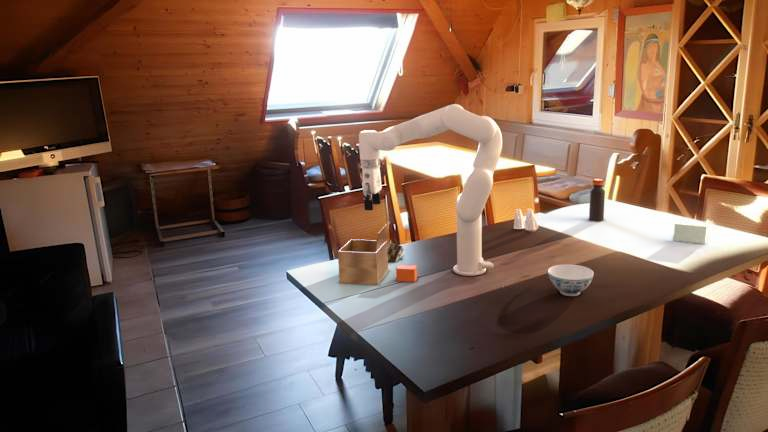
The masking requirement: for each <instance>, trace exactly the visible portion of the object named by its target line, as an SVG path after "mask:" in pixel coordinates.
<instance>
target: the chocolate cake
mask: <svg viewBox="0 0 768 432" xmlns="http://www.w3.org/2000/svg"><path fill="white" fill-rule="evenodd" d="M387 251H388V262H393V263H397V262H398V260H402V257H403V256H404V252H405V251H404V246H403V245H400V244H397V243H393V242H392V239H390V241H389V243H388V244H387Z"/></svg>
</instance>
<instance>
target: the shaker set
mask: <svg viewBox="0 0 768 432" xmlns="http://www.w3.org/2000/svg"><path fill="white" fill-rule="evenodd" d="M513 229H514V230H523V229H524V230H526V231H527V232H529V233H534V232H536V231H537V230H538V229H539V225H538V222H537V219H536V216H535V214H534V211H533V209H532V208H527V210H526V215H525V218H524V216H523V213H522V210H521V209H520V208H515V214H514V221H513Z"/></svg>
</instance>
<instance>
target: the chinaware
mask: <svg viewBox="0 0 768 432" xmlns="http://www.w3.org/2000/svg"><path fill="white" fill-rule="evenodd" d="M594 274H595V273H594V271H593V270H592V269H591V268H589V267H587V266H583V265H579V264H568V263H567V264H566V263H565V264H556V265H553V266H551V267H548V268H547V275H548V278H549V280H550V283H551V284H552V286H553V287H554V288H555V289H556V290H558V291H559V293H560V294H561V295H563V296H567V297H577V296H579V295H580V294H581V292H583V291H584V290H586V289H587V288H588V287H589V286H590V285H591V282H592V281H593V278H594Z"/></svg>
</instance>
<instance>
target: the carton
mask: <svg viewBox="0 0 768 432" xmlns="http://www.w3.org/2000/svg"><path fill="white" fill-rule="evenodd" d="M376 246H377V239H376V240H375V239H373V240H372V239H350V240H348V242H346V243H345V244H344V245H343V246H342V247H341V248H340V249H339V250H338V251H337V261H338V262H337V263H338V276H339V283H340V284H354V285H356V284H357V285H371V286H379V284H380V282H381V281H382V280H383V279H384V277H385V276H386V275H387V274H388V272H389V260H388V251H387V248H388V240H386V241H385V243H384V244H383V245H382V246H381V247H380V248H379V249H378V250H377V251H376Z"/></svg>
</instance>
